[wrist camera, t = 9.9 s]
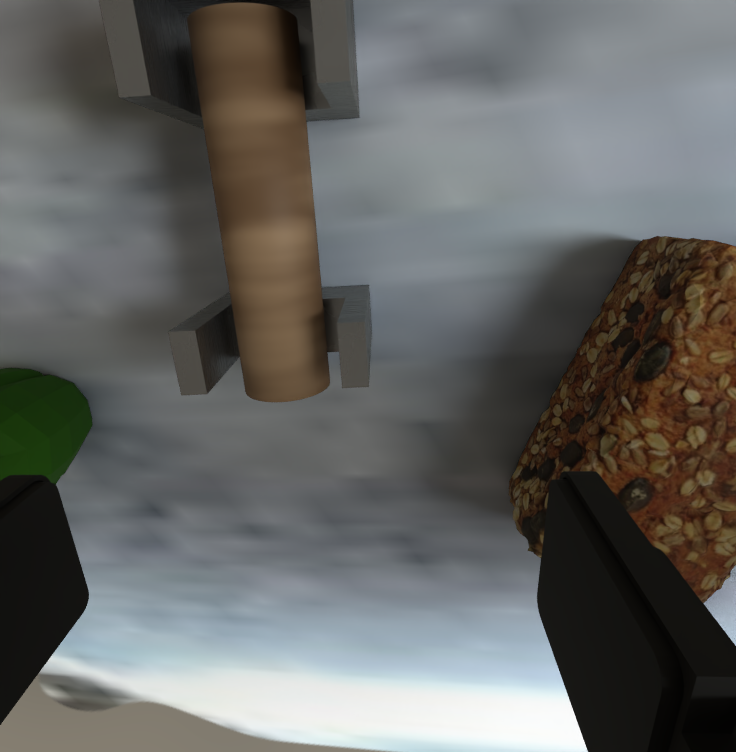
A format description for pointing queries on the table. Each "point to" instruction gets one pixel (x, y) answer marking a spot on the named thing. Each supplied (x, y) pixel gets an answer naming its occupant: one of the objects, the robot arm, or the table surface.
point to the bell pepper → (40, 423)
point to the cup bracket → (176, 67)
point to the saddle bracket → (220, 347)
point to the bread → (652, 409)
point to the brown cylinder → (263, 193)
